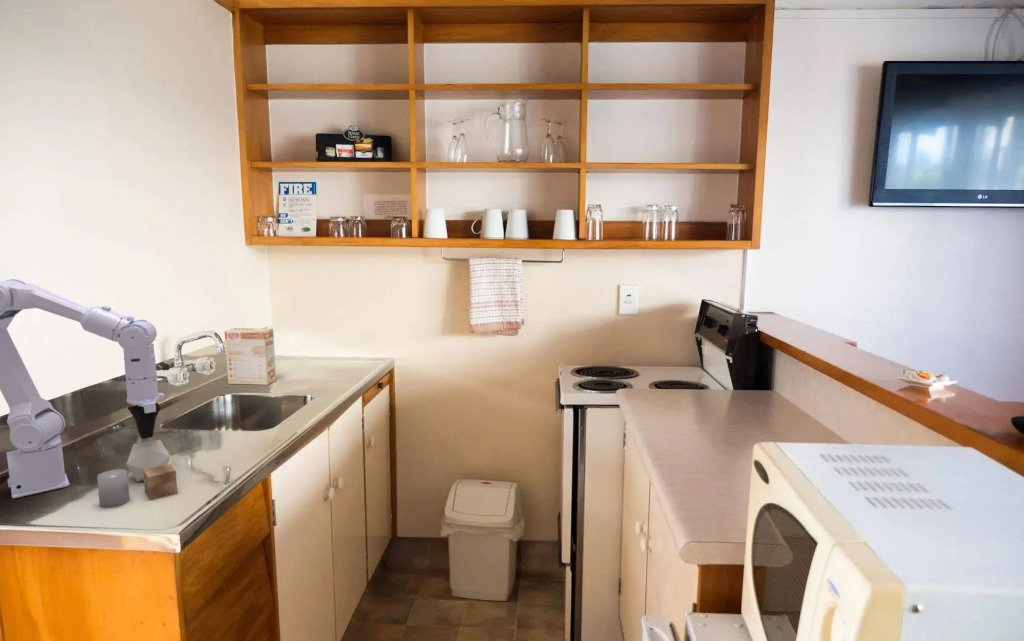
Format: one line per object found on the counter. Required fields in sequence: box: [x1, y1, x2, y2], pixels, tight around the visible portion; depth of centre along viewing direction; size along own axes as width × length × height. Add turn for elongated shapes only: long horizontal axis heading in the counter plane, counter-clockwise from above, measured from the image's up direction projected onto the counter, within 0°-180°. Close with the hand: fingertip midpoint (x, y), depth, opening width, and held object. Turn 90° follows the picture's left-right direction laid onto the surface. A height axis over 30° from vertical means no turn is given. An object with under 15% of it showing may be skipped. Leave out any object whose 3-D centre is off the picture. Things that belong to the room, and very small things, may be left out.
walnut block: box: [143, 463, 178, 501], centre depth 125 cm, size 5×5×5 cm
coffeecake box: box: [224, 327, 277, 386], centre depth 217 cm, size 15×7×20 cm, turn 84°
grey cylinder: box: [96, 468, 131, 509], centre depth 121 cm, size 5×5×6 cm
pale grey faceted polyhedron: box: [126, 439, 171, 483], centre depth 133 cm, size 8×9×10 cm
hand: (146, 437), depth 132 cm, fingers closed
